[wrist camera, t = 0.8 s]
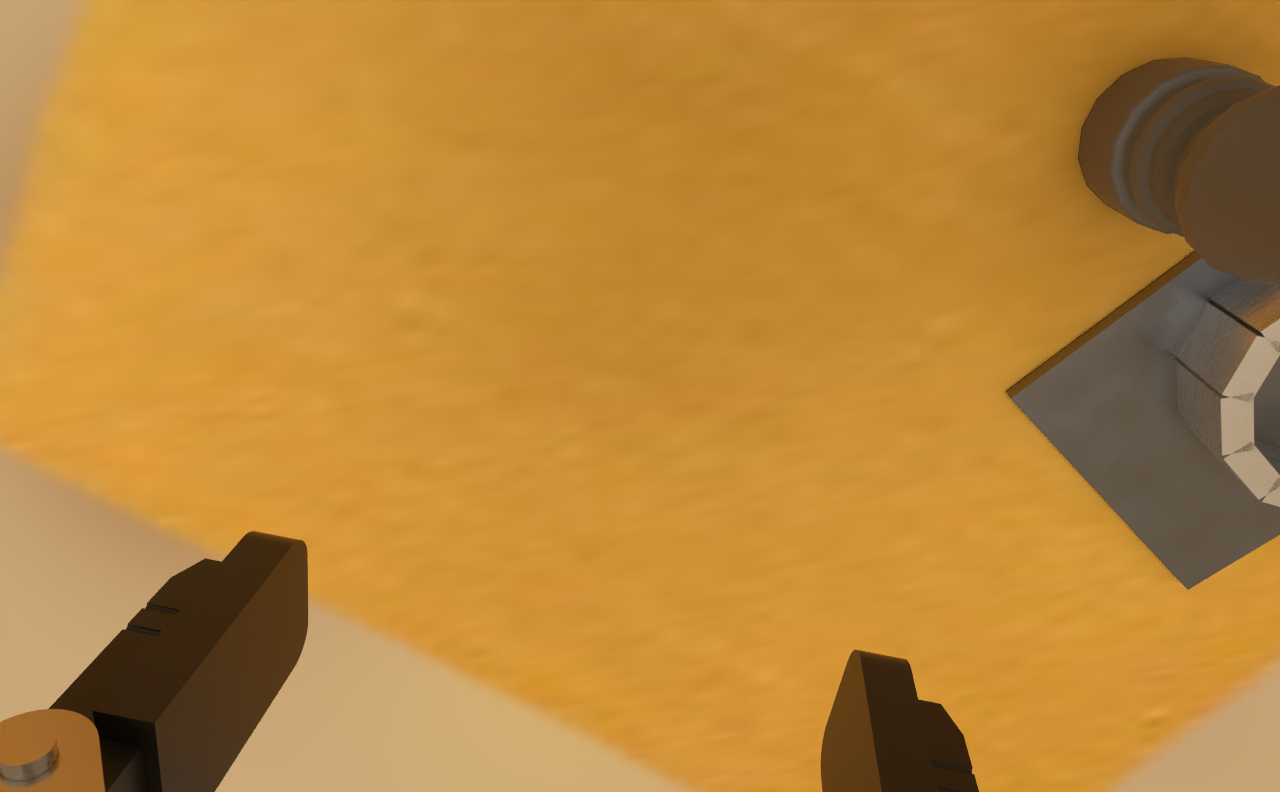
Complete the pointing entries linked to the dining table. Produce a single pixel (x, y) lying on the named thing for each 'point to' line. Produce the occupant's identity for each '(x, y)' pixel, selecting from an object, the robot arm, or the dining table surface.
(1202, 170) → the candle holder
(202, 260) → the dining table surface
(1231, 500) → the steel collar
